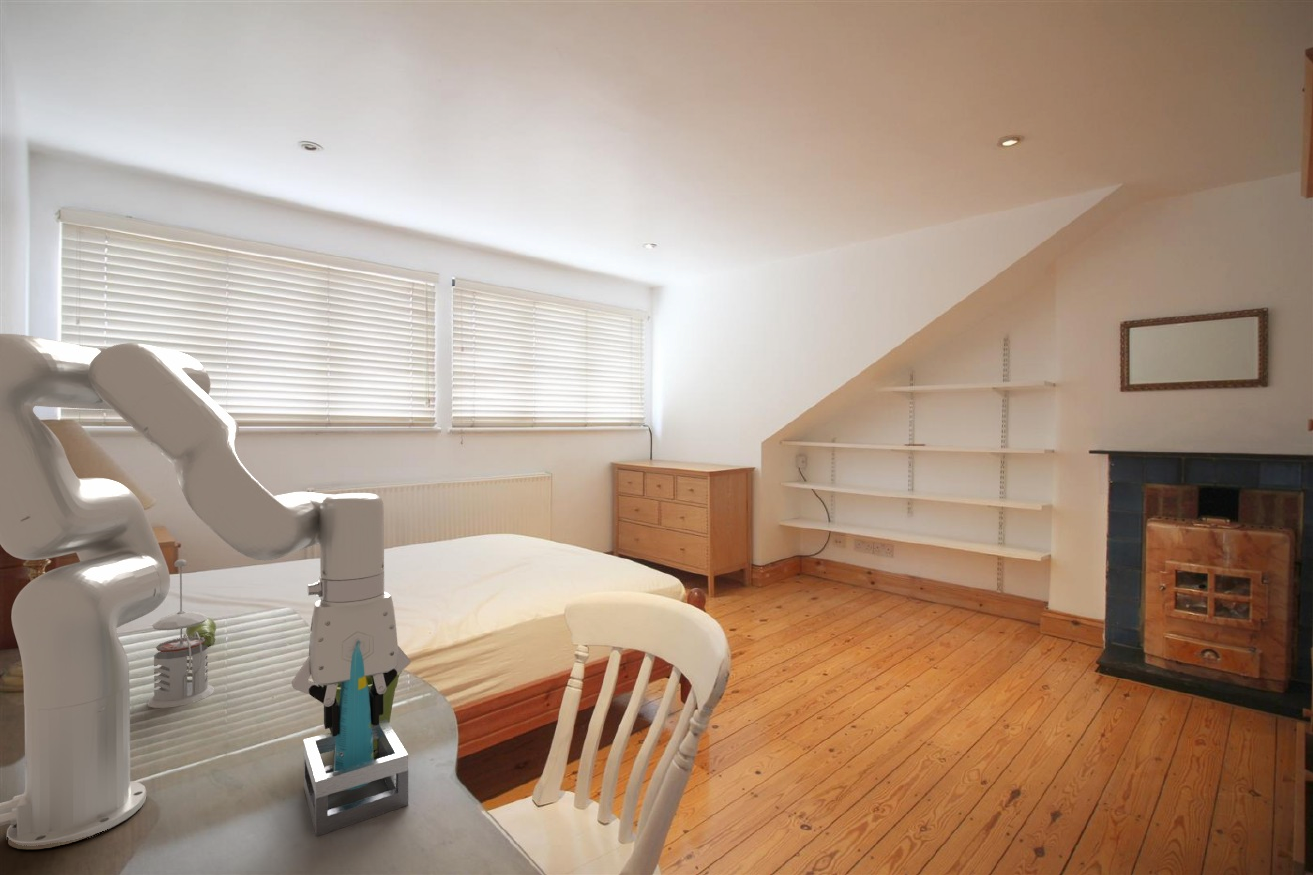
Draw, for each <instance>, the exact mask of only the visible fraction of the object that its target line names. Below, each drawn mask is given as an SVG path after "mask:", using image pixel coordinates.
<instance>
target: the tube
mask: <svg viewBox="0 0 1313 875" xmlns="http://www.w3.org/2000/svg"><path fill="white" fill-rule="evenodd" d="M360 644H361V642H360V641H359V642H358V644H357V645H356V647H355V649H354V652H353V655H352V661H351V671H350V680H348V681H346V682H341V690H340V699H339V734H337V736H336V743H335V750H334V757H333V760H334V761H333V764H334V771H338V770H341V769H344V768H348V767H351V766H355V765H358V764H362V763H365V762H369V761H372V760H374V755H373V753H374V751H373V736H372V720H371V709H370V698H369V690H368V682H367V677H365V674H364V663H363V658H362V654H361V651H360V648H359V646H360ZM370 783H371V782H368V783H365V784H362V785H358V786H355V787H352V788H349V789H345V790H344V791H353V790H358V789H361V788H363V787H365V786H367V785H368V784H370Z"/></svg>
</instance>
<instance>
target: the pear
mask: <svg viewBox="0 0 1313 875" xmlns="http://www.w3.org/2000/svg"><path fill="white" fill-rule="evenodd" d="M216 630H217V624H216V622H215V621H214V620H213V619H212V618H210V617H209V618H208V619H207V620H206V621H205V622H203V623H201V624H199V625H196V626H193V627H189V628H185V634H186V636H187V637H192V636H193V637H194V633H195V631H196V632H197V633H198V634H199V637H203V638H205V639H206V640H205V642H204V643H203V644H202V645H207V647H210V646H212V645H214V644H215V642H216ZM196 637H198V636H197V634H196Z"/></svg>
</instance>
